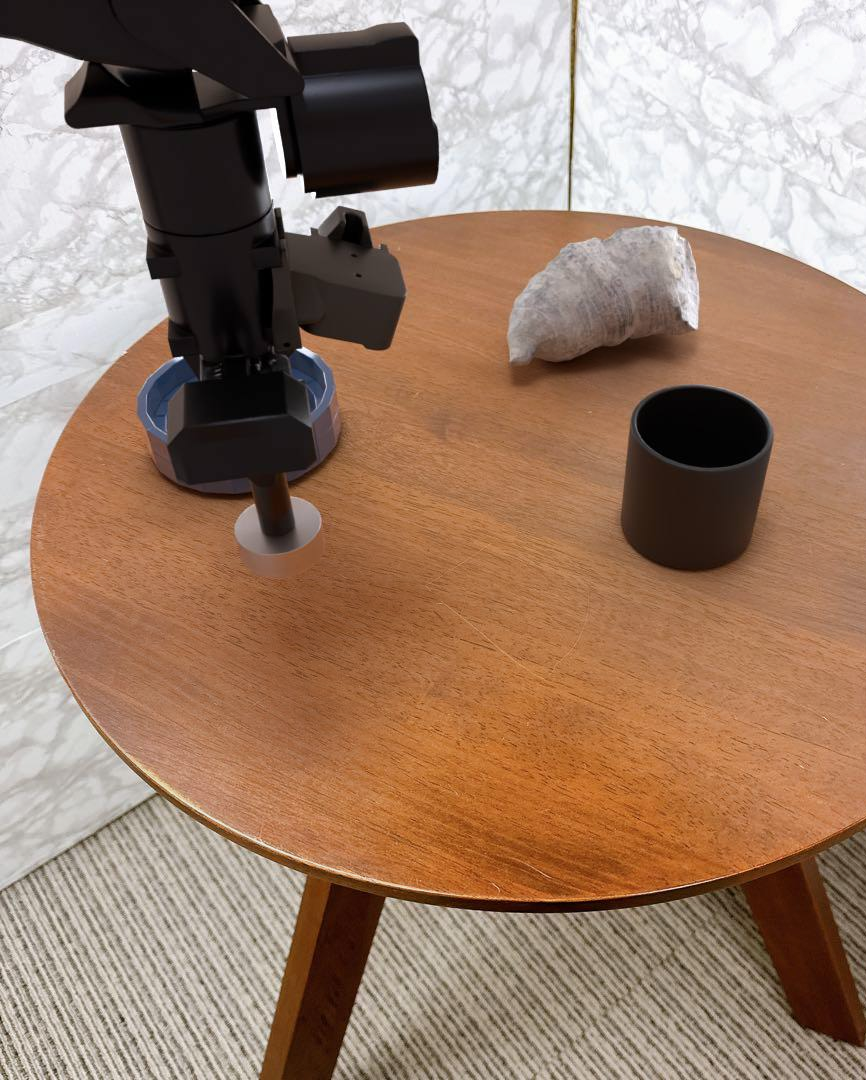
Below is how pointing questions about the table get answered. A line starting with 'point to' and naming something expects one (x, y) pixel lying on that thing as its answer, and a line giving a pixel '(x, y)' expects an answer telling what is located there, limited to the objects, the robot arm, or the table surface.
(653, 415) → the black cup
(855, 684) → the table surface
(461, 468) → the table surface
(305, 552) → the paper towel holder
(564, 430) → the table surface
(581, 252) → the seashell
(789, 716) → the table surface
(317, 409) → the bowl
